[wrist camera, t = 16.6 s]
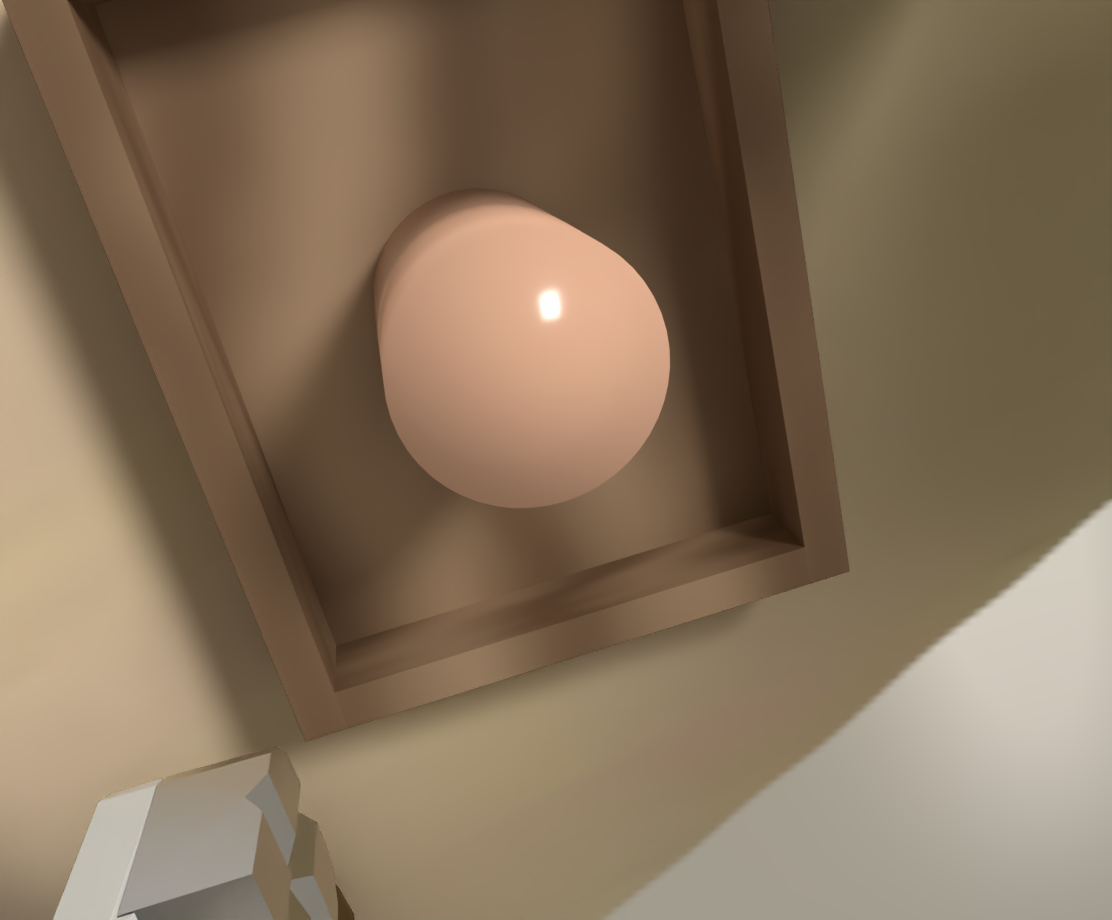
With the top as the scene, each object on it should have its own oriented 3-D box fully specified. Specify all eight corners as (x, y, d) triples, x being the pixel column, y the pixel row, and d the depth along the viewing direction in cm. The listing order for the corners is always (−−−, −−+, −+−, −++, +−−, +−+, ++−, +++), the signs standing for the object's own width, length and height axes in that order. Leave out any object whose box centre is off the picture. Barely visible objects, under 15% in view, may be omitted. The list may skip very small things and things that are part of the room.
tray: (684, -191, 25) (734, -233, 21) (800, 523, 32) (849, 571, 29) (32, -35, 23) (-21, -55, 20) (310, 673, 31) (305, 741, 28)
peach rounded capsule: (552, 161, 26) (634, 188, 19) (604, 362, 28) (696, 458, 21) (343, 224, 25) (341, 277, 18) (411, 424, 28) (434, 544, 20)
